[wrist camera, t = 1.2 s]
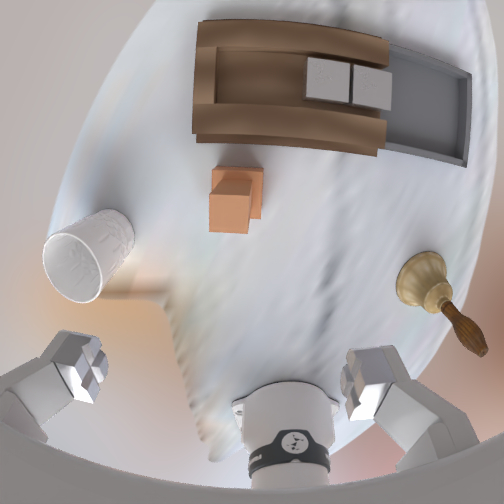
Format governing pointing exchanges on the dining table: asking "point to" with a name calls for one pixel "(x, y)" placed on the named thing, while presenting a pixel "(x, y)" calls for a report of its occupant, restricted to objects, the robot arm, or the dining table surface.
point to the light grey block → (326, 81)
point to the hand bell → (437, 297)
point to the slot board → (280, 86)
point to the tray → (428, 107)
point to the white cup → (87, 254)
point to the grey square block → (370, 89)
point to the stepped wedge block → (235, 198)
